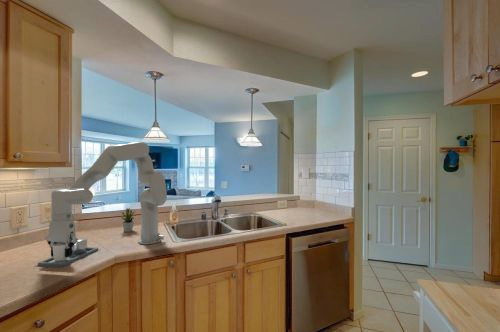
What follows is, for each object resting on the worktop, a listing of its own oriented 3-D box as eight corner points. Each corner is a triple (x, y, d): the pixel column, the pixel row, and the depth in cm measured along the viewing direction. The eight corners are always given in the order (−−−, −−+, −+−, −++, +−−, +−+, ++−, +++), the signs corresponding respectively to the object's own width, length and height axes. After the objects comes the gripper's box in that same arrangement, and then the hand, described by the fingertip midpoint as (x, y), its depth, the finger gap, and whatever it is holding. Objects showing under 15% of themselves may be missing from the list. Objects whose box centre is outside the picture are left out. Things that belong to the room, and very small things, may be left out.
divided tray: (101, 251, 132) (101, 247, 132) (61, 271, 108) (61, 265, 108) (77, 250, 133) (77, 246, 133) (33, 269, 110) (33, 263, 110)
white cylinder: (58, 255, 119) (58, 240, 119) (73, 255, 119) (74, 240, 119) (48, 261, 112) (48, 245, 112) (64, 261, 112) (64, 245, 112)
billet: (90, 251, 129) (90, 238, 129) (79, 256, 122) (80, 242, 122) (78, 250, 130) (78, 238, 129) (67, 255, 123) (67, 242, 123)
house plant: (113, 229, 176) (113, 206, 176) (134, 227, 185) (135, 204, 185) (117, 234, 165) (117, 209, 165) (140, 231, 173) (140, 207, 173)
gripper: (85, 215, 118) (85, 254, 118) (52, 214, 120) (51, 252, 120) (72, 219, 111) (72, 260, 111) (37, 217, 113) (36, 258, 113)
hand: (61, 255), depth 116 cm, fingers closed on white cylinder, 6 cm apart
